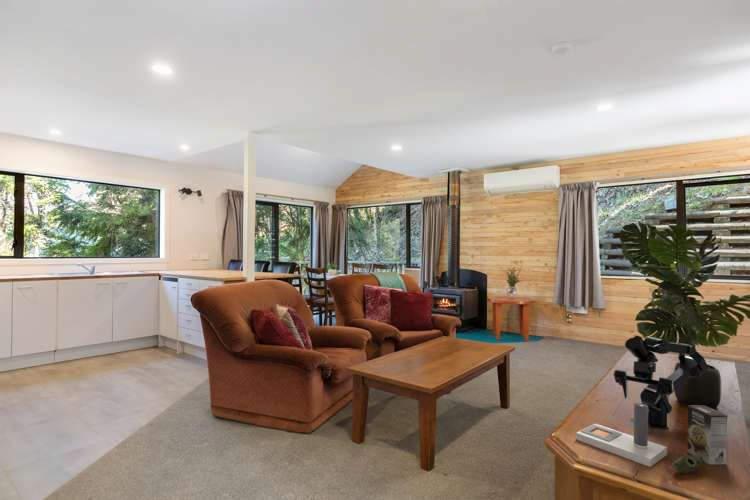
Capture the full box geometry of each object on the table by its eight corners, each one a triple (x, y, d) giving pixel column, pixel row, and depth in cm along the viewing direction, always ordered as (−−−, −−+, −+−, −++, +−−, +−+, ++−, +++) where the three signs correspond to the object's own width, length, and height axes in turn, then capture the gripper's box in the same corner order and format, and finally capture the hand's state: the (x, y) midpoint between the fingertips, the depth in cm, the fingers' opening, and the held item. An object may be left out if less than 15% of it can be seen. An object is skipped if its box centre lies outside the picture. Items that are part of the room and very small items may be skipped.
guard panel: (576, 439, 154) (576, 431, 154) (594, 430, 162) (594, 422, 162) (650, 467, 135) (650, 458, 135) (667, 454, 143) (667, 446, 143)
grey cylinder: (645, 444, 145) (645, 403, 145) (649, 449, 141) (649, 407, 141) (632, 443, 146) (632, 402, 146) (635, 448, 142) (636, 406, 142)
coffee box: (686, 451, 145) (686, 404, 145) (703, 451, 146) (704, 404, 146) (709, 465, 136) (709, 415, 136) (727, 464, 137) (728, 414, 137)
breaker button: (591, 438, 154) (591, 432, 154) (597, 434, 157) (597, 429, 157) (604, 443, 150) (604, 437, 150) (610, 439, 153) (610, 434, 153)
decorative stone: (702, 483, 126) (703, 466, 126) (671, 474, 130) (671, 458, 130) (702, 468, 134) (703, 452, 134) (673, 460, 139) (673, 445, 139)
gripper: (615, 348, 166) (607, 383, 158) (672, 357, 154) (668, 395, 145) (619, 365, 172) (612, 399, 164) (675, 374, 160) (671, 411, 151)
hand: (639, 400), depth 156 cm, fingers open, 9 cm apart
